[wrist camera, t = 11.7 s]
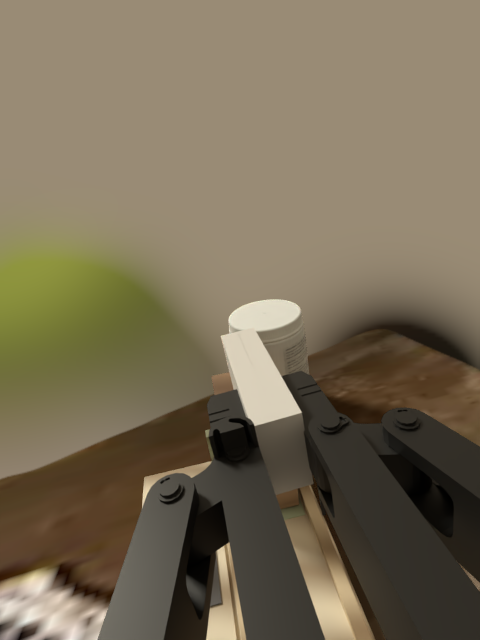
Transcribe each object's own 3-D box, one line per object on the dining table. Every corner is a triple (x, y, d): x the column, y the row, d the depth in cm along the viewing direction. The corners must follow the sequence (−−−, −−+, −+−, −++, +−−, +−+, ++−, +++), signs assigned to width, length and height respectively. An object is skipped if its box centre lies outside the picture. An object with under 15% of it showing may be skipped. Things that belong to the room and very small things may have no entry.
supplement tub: (297, 381, 59) (289, 292, 53) (323, 419, 51) (316, 318, 45) (237, 397, 58) (221, 308, 52) (252, 438, 49) (235, 337, 43)
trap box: (457, 839, 20) (467, 803, 18) (112, 957, 19) (79, 932, 16) (292, 444, 47) (289, 411, 45) (147, 477, 46) (136, 446, 44)
